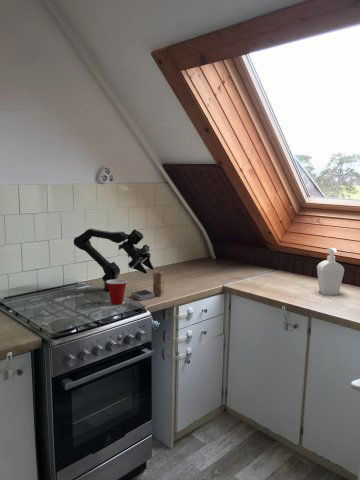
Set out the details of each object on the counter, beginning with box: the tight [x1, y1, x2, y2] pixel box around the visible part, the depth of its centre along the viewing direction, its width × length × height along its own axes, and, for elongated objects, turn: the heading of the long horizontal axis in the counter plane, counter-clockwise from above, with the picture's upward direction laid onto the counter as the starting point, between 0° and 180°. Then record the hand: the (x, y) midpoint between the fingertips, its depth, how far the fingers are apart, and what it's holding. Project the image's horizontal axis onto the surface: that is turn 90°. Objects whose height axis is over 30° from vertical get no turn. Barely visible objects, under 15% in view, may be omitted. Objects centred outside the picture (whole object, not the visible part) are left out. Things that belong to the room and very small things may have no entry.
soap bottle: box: [316, 247, 345, 296], centre depth 234 cm, size 12×10×26 cm
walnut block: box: [152, 270, 165, 298], centre depth 230 cm, size 4×4×13 cm
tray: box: [130, 289, 156, 302], centre depth 226 cm, size 9×9×2 cm
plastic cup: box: [106, 278, 128, 306], centre depth 216 cm, size 11×11×12 cm
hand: (149, 271), depth 230 cm, fingers open, 9 cm apart
